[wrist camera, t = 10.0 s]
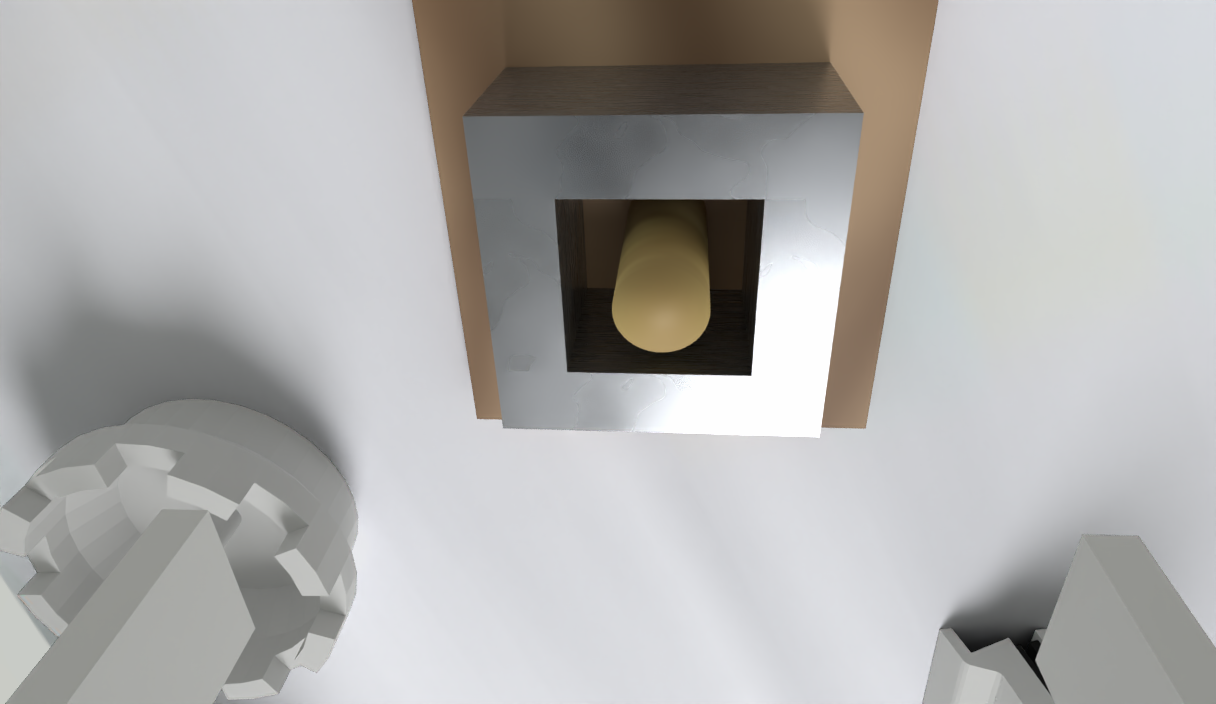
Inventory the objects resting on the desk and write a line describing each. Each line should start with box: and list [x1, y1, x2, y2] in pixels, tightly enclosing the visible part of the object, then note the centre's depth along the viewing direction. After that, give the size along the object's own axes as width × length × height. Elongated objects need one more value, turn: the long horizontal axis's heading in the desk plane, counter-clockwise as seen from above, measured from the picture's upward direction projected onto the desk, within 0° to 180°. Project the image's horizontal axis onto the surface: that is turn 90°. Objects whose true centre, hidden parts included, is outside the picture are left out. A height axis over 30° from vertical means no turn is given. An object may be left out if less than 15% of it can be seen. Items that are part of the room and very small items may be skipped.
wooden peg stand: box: [412, 0, 938, 428], centre depth 22 cm, size 14×16×8 cm
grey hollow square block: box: [462, 62, 864, 437], centre depth 22 cm, size 9×9×5 cm
